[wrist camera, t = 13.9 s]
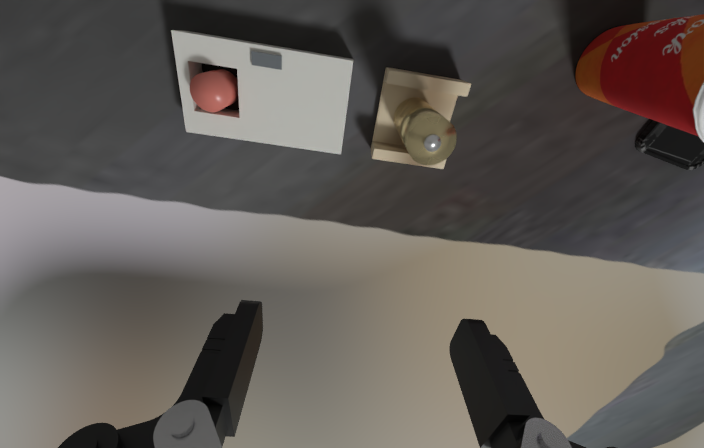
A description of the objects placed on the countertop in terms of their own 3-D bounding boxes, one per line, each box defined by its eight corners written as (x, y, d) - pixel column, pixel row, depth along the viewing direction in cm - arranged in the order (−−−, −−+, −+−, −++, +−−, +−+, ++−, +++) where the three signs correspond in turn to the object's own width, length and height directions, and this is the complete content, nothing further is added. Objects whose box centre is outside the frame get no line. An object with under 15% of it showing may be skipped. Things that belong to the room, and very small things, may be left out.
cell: (398, 94, 28) (415, 113, 20) (436, 100, 28) (465, 122, 21) (390, 133, 29) (402, 163, 22) (425, 138, 30) (448, 170, 23)
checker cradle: (198, 125, 30) (184, 132, 27) (186, 30, 26) (168, 29, 23) (341, 146, 31) (340, 155, 28) (353, 58, 27) (353, 61, 24)
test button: (209, 101, 28) (192, 109, 25) (205, 66, 27) (187, 70, 24) (241, 106, 28) (228, 114, 26) (239, 71, 27) (225, 76, 24)
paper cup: (674, 5, 24) (977, -25, 12) (635, 104, 28) (835, 153, 17) (575, 15, 25) (778, -5, 13) (550, 111, 29) (687, 164, 17)
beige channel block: (370, 148, 31) (372, 158, 28) (385, 66, 27) (389, 70, 24) (436, 158, 31) (443, 169, 29) (460, 79, 27) (471, 84, 25)
